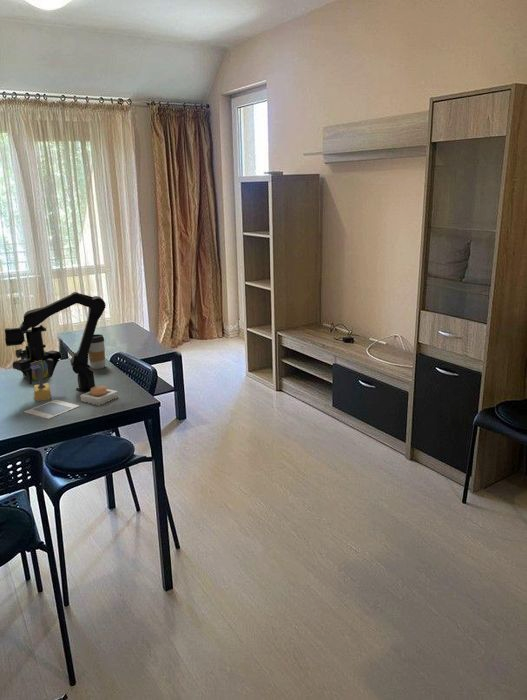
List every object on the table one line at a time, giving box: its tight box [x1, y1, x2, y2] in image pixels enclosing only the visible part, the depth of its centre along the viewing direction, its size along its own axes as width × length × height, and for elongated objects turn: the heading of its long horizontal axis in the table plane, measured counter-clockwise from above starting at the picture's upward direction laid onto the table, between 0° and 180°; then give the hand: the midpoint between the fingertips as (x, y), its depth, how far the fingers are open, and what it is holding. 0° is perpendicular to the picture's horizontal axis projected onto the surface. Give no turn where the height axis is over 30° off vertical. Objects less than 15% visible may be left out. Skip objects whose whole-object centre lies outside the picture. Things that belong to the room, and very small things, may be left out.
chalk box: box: [22, 350, 50, 382], centre depth 239 cm, size 9×9×15 cm
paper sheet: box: [23, 399, 80, 420], centre depth 202 cm, size 14×14×1 cm
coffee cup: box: [88, 333, 106, 370], centre depth 251 cm, size 8×8×15 cm
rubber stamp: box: [33, 368, 52, 402], centre depth 215 cm, size 10×6×12 cm, turn 23°
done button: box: [91, 385, 108, 397], centre depth 210 cm, size 6×6×2 cm
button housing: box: [79, 388, 119, 406], centre depth 211 cm, size 10×10×2 cm
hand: (40, 380), depth 215 cm, fingers open, 9 cm apart
